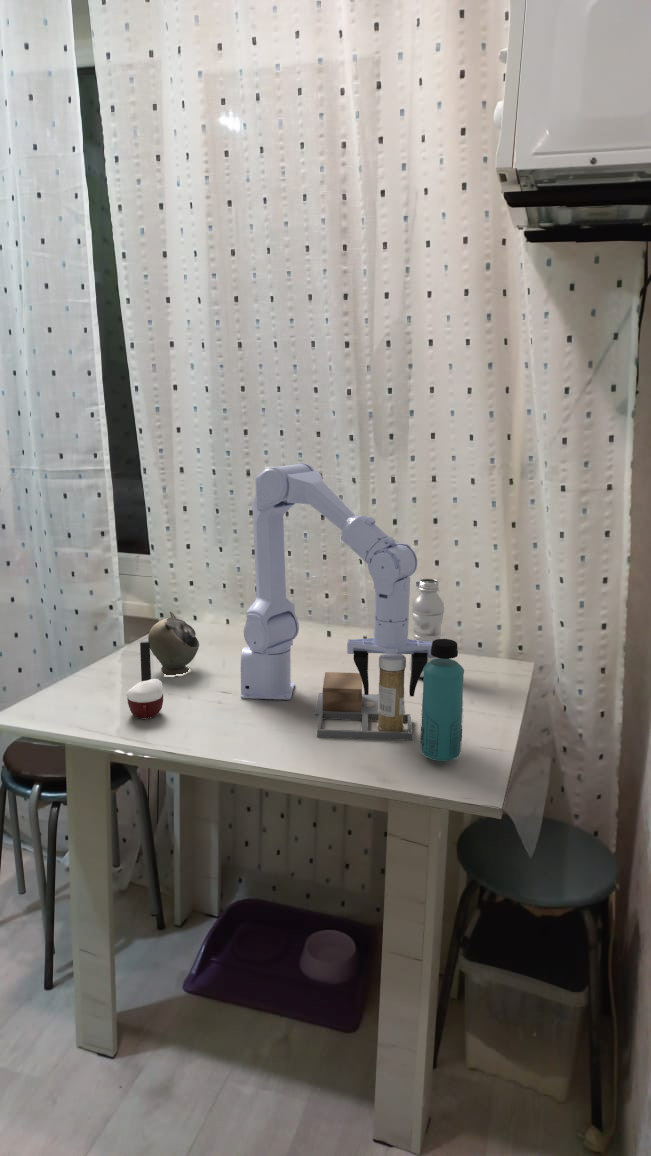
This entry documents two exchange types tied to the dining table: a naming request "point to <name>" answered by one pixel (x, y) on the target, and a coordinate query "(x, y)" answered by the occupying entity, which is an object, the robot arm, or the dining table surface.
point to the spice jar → (391, 692)
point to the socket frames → (364, 733)
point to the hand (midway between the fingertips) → (389, 693)
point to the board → (367, 704)
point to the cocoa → (145, 689)
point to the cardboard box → (342, 692)
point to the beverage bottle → (442, 703)
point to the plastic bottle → (427, 614)
